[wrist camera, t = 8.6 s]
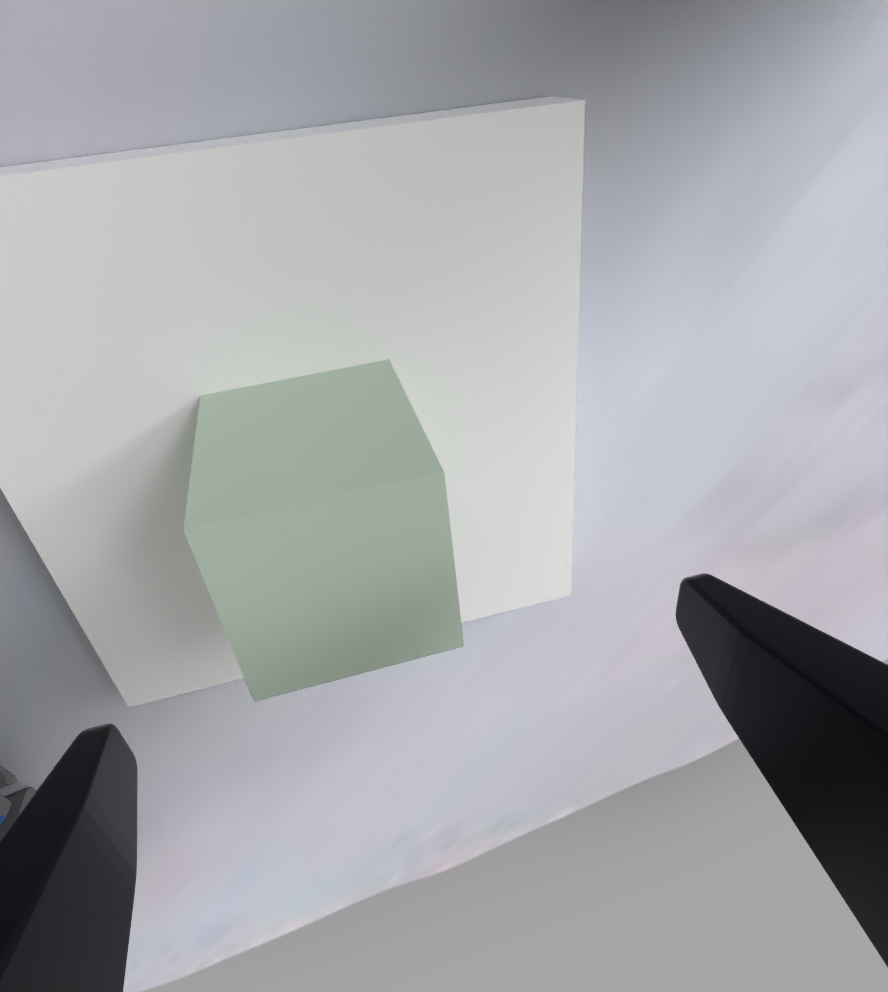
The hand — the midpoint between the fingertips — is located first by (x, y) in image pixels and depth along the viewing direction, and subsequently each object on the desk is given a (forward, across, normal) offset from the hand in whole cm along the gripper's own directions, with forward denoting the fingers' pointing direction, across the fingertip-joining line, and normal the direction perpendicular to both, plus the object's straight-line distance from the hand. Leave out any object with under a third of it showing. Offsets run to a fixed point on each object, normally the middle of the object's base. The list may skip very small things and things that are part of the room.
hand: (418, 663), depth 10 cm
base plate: (+12, +1, +2) cm, 12 cm away
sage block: (+10, +1, +2) cm, 10 cm away
